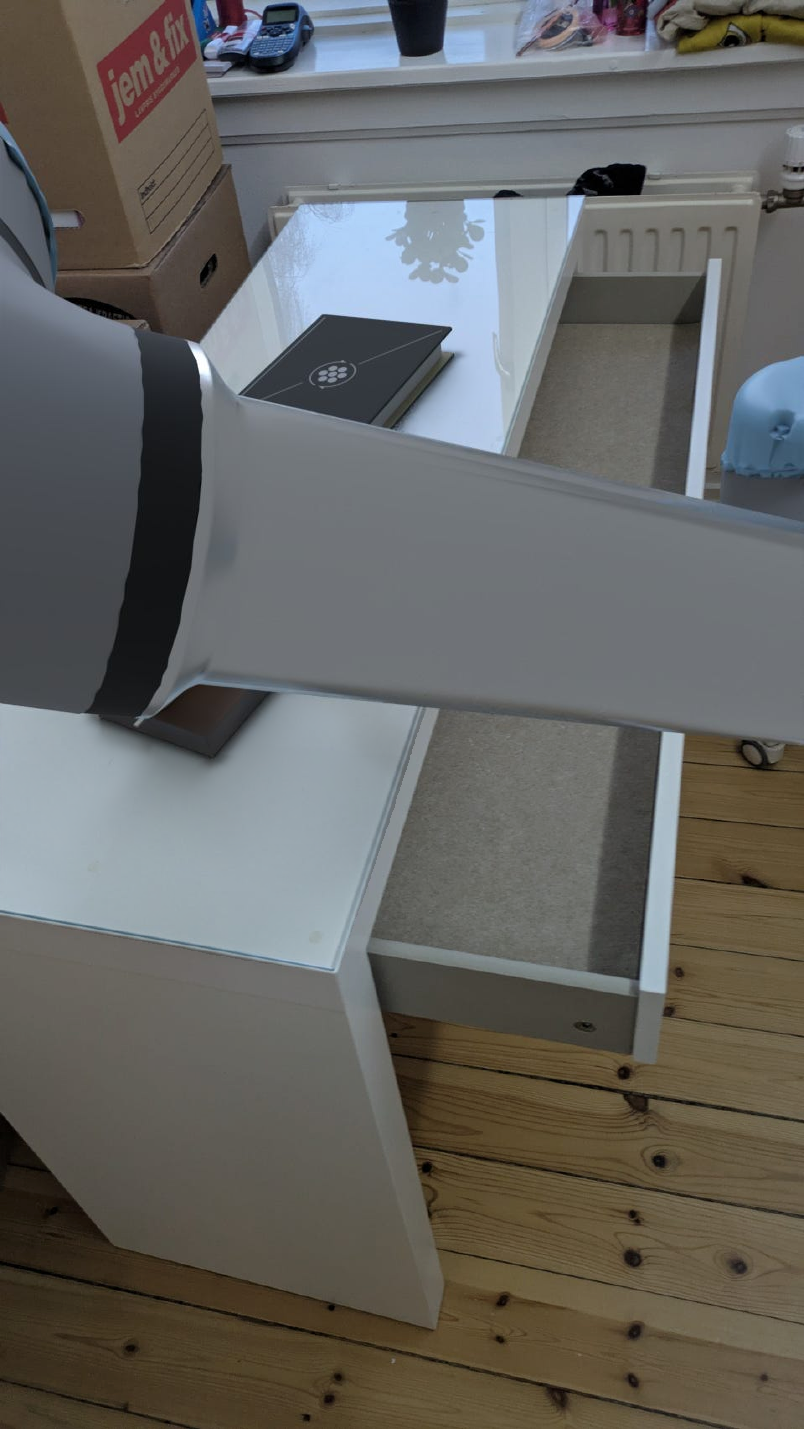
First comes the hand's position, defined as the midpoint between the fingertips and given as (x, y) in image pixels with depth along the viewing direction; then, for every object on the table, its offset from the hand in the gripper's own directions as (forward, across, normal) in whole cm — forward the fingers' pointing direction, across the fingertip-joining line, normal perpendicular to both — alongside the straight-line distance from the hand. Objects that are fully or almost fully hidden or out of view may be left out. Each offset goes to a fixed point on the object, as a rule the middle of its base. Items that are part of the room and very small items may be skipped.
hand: (260, 531), depth 71 cm
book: (+16, +33, -11) cm, 39 cm away
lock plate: (+4, -4, -11) cm, 12 cm away
